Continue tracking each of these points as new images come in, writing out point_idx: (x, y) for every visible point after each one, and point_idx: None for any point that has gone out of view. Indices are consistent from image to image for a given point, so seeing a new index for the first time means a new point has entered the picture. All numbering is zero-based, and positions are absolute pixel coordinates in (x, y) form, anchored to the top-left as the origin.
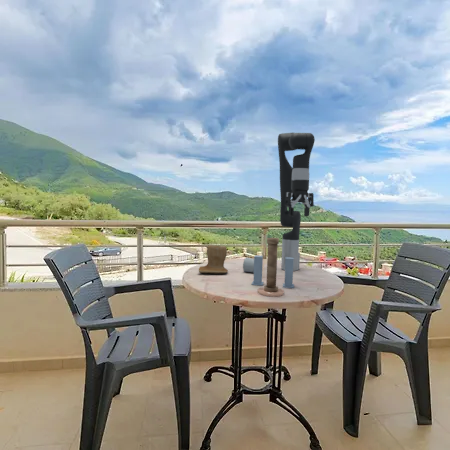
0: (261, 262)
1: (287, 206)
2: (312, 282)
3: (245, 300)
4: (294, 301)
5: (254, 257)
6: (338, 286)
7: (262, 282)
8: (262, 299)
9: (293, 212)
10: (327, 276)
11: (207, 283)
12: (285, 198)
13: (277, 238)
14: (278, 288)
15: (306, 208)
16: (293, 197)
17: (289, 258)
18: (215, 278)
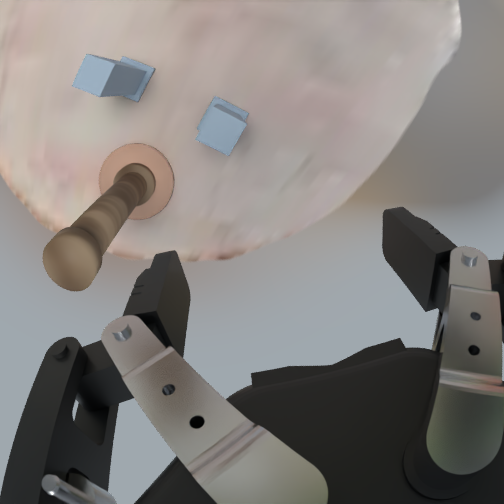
0: (107, 95)
1: (92, 351)
2: (334, 93)
3: None
4: None
5: (74, 86)
6: (380, 159)
7: (146, 77)
8: None
9: (185, 322)
10: (424, 50)
11: (4, 77)
12: (21, 436)
13: (87, 274)
14: (165, 165)
15: (425, 288)
16: (183, 486)
17: (214, 142)
18: (34, 18)
